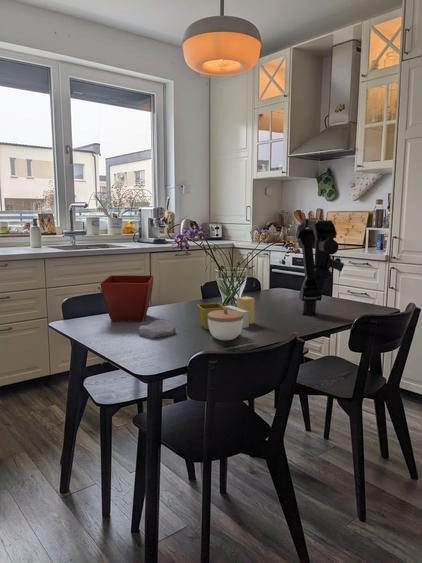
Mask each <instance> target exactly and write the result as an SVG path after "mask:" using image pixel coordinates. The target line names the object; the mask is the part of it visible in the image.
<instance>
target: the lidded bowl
mask: <svg viewBox="0 0 422 563" xmlns="http://www.w3.org/2000/svg"><path fill="white" fill-rule="evenodd" d="M242 325H243V313H241V312H238V311H233V310H227V308H224V310H217V311H212V312H209V313H208V326H209V329H208V330H209V333H210V334H211V336H212V337H214V338H215V339H216V340H219V341H231V340H235V339H237V338H238V336H239V335H240V334H241V332H242V330H243V328H242Z"/></svg>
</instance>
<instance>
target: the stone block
mask: <svg viewBox="0 0 422 563" xmlns="http://www.w3.org/2000/svg"><path fill="white" fill-rule="evenodd" d="M176 332H177V330H176V326H175V325H174V323H171V322H169V321H166V319H165V320H161V319H158V320H157V319H156V320H154V321H151V322H150V323H149V324H145V325H143V324H142V325H140V326H139V328H138V335H139V336H140V335H142V337H144V336H148V337H147V338H149V337H150V338H149V339H156V337H157V338H162V337H167V335H168V336H172V335H173V334H175V333H176ZM161 336H162V337H161Z"/></svg>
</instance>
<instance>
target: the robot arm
mask: <svg viewBox="0 0 422 563" xmlns="http://www.w3.org/2000/svg"><path fill="white" fill-rule="evenodd" d="M337 235H338V233H337V230H336V225H335V223H334V222H333V221H332V220H331V219H329V220H325V219H324V220H323V219H317V218H315V217H310V218H309V217H307V218H304V220H303V222H302V223H301V224H299V225H298V227H297V229H296V232H295V239H297V244H298V245H299V247H300V248H301V251H302V262H303V271H304V280H303V282H302V284H301V288H300V291H299V294H298V297H299V300H300V301H302V303H303V304H302V310H301V315H305V316H318V311H317V304H318V303H317V301H319V302H321V301H322V298H323V291H324V290H323V288H324V285H325V282H326V279H327V278H329V277H331V268H332V269H335V270H337V271H338V272H342V271H343V268H344V267H345V263H344V262H342V260H341V258H339V257H336V258H335V259H334V258H332V257H331V255H334V254H336V253H338V250H339V244H338V242H337V241H336V240H335V239H337ZM314 246H315V247H314Z"/></svg>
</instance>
